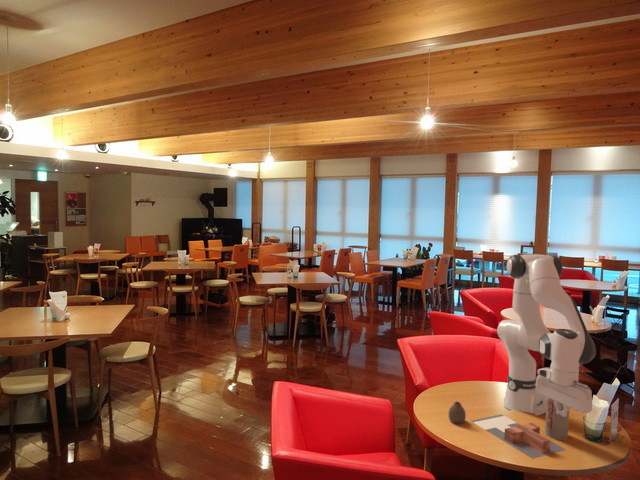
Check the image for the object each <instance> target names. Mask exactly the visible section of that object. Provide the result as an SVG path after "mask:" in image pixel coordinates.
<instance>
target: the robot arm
mask: <svg viewBox="0 0 640 480" xmlns="http://www.w3.org/2000/svg"><path fill="white" fill-rule="evenodd" d="M563 268H564V267H563V262H562V259H561V258H560V257H558V256H556V255H552V254H551V255H547V254H540V253H539V254H536V253H534V254H528V253H527V254H520V253H519V254H513V255H510V256H509V258H508V259H507V262H506V270H507V274H508V275H509V277H510V278H513V279H514V283H513V290H512V305H511V306H512V310H513V312H514V313H516V314H517V315H518V317H519V318H520V321H519V320H516V319H502V320H501V321H500V322H499V323H498V326H497V328H496V329H497V330H496V332H497V336H498V338H499V339H500V340H501V341H502V343H503V344H504V347H505V349H506V351H507V354H508V374H507V384H506V391H505V396H504V397H503V406H504V407H505V409H507V410H509V411H512V410H513V411H516V412H521V413H530V414H532V415H534V416H536V417H537V416H538V417H540V416H541V415H543V414H546V410H547V397H548V398H550V399H552V400H554V405H555V407H556V413H557V414H559V415H561V416H563V417H566V416H567V412H568V410H569V411H570V409H573V410H575V411H577V412H580V413H582V414H588V413H589V414H590V413H591V412H592V411H593V399H592V398H593V397H592V393H593V391H592V390H591V388H590V387H589V386H588V385H587V384H585V383H582V382H580V381H579V375H580V373H579V371H580V368H579V364H588V363H590V362H591V361H593V359H594V358H595V357H596V355H597V349H596V344H595V342H594V340H593V339H592V337H591V336H590V334H589V332H588V329H587V327H586V325H585V323H584V319H583V318H582V315H581V312H580V310H579V308H578V305H577V303H576V302H575V300H574V298H573V297H572V296H570V295H569V294H568V293H567V292H566V291H565V290H564V288H563V287H562V284H561V279H560V277H561V276H562V274H563ZM540 306H542V307H545V308H548V309H550V310H551V309H552V310H554V311H556V312H557V313H560V314H561V315H563V317H564V318H565V320H566V321H567V323H568V325H569V329H568V328H558V329H555V330H554V331H553V332H551V331H550V329H548V327H547V326H546V325H545V323H544V320H543V317H542V315H541V309H540V308H541V307H540ZM529 350H530V351H534V352H539V354H540V355H542V357H544V358H545V359H547V360H550V361H551V363H550V366H549V367H542V368H539V369H537V362H536V359H535V358H534V357H533V356H532V355H531V353H530V352H529ZM536 373H537V374H536ZM536 375H537V376H536ZM560 404H563V407H564V409H562V408H561V405H560Z"/></svg>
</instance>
